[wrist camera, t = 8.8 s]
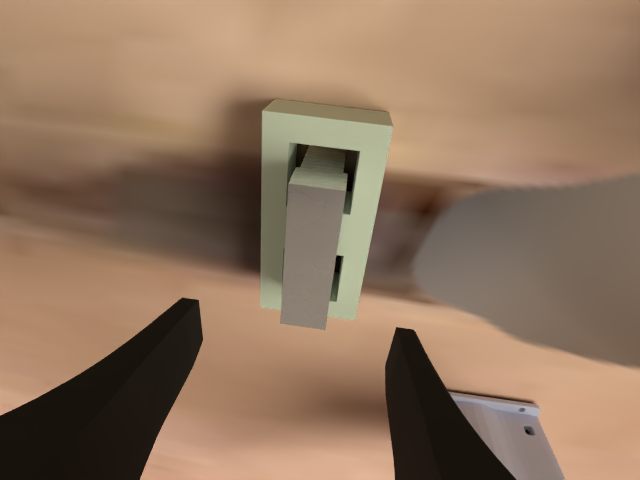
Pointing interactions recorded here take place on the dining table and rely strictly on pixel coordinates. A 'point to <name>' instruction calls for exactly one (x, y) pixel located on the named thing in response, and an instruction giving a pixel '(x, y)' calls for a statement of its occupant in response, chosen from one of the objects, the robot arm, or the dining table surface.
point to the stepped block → (312, 236)
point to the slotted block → (360, 204)
